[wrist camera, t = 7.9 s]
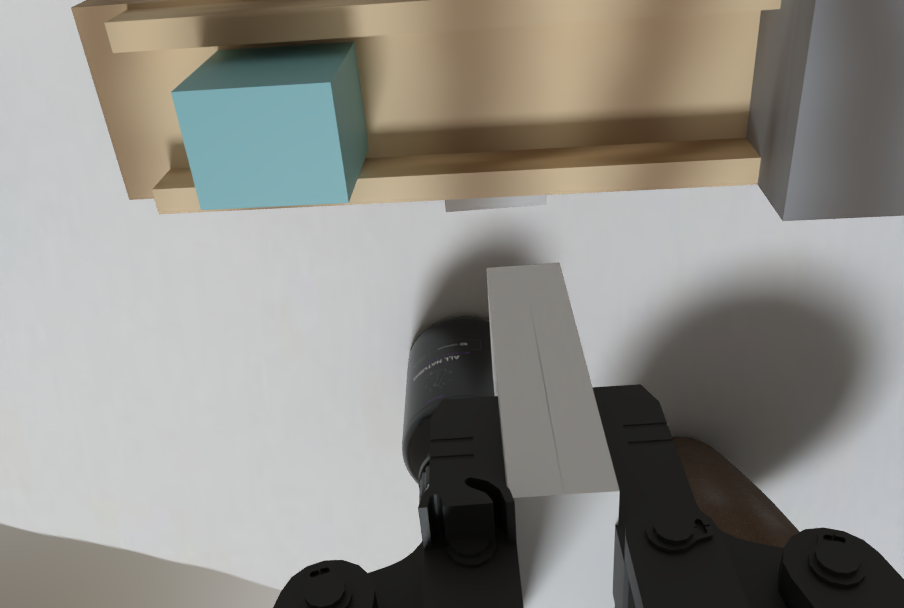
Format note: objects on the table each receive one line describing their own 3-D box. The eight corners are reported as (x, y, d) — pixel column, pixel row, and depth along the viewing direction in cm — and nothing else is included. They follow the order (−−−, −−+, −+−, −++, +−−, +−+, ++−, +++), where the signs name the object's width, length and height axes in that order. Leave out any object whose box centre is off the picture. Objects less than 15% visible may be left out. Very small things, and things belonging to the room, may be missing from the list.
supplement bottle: (432, 296, 47) (431, 431, 37) (537, 333, 49) (565, 472, 39) (390, 385, 51) (379, 531, 40) (491, 416, 52) (505, 566, 42)
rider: (354, 41, 29) (330, 82, 25) (368, 148, 31) (348, 202, 27) (217, 50, 29) (170, 92, 25) (240, 155, 32) (200, 210, 27)
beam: (903, -60, 28) (1005, -26, 22) (862, 145, 32) (942, 219, 26) (90, -2, 30) (-3, 43, 25) (144, 183, 34) (74, 258, 28)
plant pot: (629, 584, 61) (686, 810, 47) (511, 467, 54) (537, 688, 41) (815, 490, 56) (938, 711, 42) (710, 350, 50) (814, 556, 36)
